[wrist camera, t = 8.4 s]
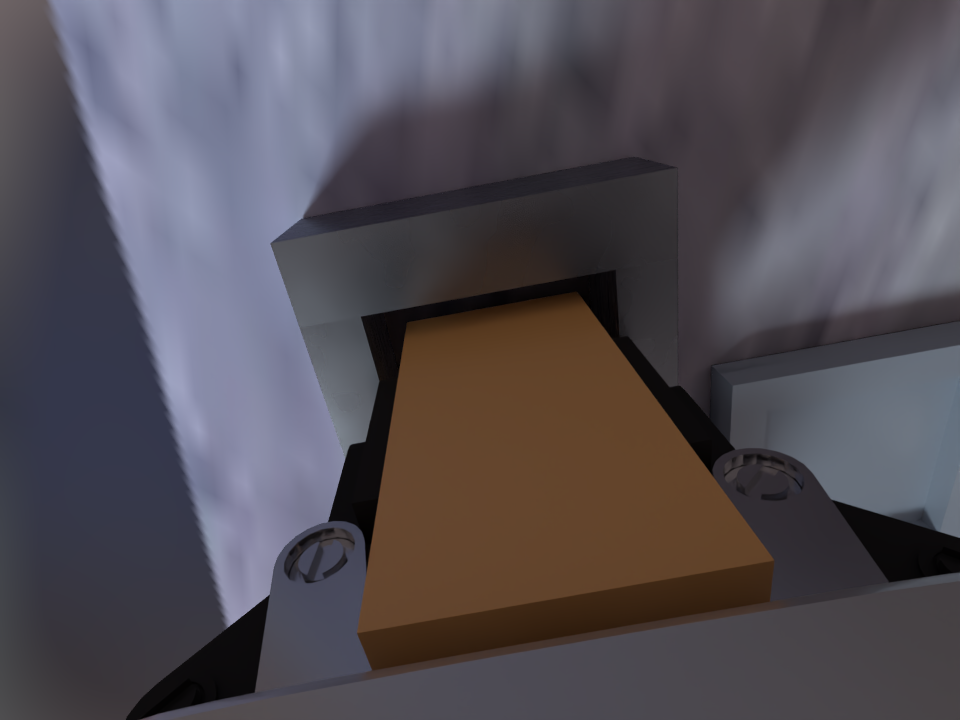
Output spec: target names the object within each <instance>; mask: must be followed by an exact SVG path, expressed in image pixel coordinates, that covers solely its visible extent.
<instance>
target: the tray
mask: <svg viewBox="0 0 960 720" xmlns="http://www.w3.org/2000/svg"><path fill="white" fill-rule="evenodd" d="M710 420H711V421H712V422H713V424H714V425H715V426H716V427H717V428H718V429H719V431H720V432H721V433H722V434H723V435H724V436H725V438H726V439H727V440H728V441H729V442H730V443H731V445H732V446H733V447H734V448H735V449H736V450H738V449H744V448H763V449H768V450H773V451H778V452H781V453H783V454H786V455H789V456H791V457H793V458H795V459H796V460H798V461H800V462H801V463H803V464H804V465H805V466H806V467H807V468H808V469H809V470H810V471H811V472H812V473H813V474H814V476H815V477H816V479H817V480H818V481H819V483H820V484H821V486H822V487H823V489H824V490H825V491H826V493H827V494H828V496H829V497H830V499H832V500H835V501H838V502H842V503H845V504H848V505H852V506H855V507H858V508H862V509H865V510H868V511H872V512H875V513H878V514H882V515H885V516H888V517H892V518H895V519H898V520H902V521H905V522H908V523H912V524H915V525H918V526H922V527H925V528H928V529H932V530H935V531H938V532H942V533H945V534H948V535H952V536H955V537H958V538H960V321H957V322H951V323H946V324H940V325H935V326H929V327H924V328H918V329H912V330H907V331H901V332H896V333H890V334H885V335H879V336H874V337H868V338H863V339H857V340H852V341H846V342H841V343H835V344H829V345H824V346H818V347H813V348H807V349H802V350H796V351H791V352H785V353H780V354H774V355H769V356H763V357H758V358H752V359H746V360H741V361H735V362H730V363H724V364H719V365H713V366H712V373H711V406H710Z"/></svg>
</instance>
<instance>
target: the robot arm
mask: <svg viewBox="0 0 960 720" xmlns="http://www.w3.org/2000/svg"><path fill="white" fill-rule="evenodd" d="M612 340H613V341H614V342H615V344H616V345H617V347H618V348H619V349H620V351H621V352H622V353H623V355H624V356H625V357H626V359H627V360H628V362H629V363H630V364H631V366H632V367H633V368H634V370H635V371H636V372H637V374H638V375H639V377H640V378H641V379H642V381H643V382H644V383H645V385H646V386H647V387H648V389H649V390H650V391H651V393H652V394H653V396H654V397H655V398H656V400H657V401H658V402H659V404H660V405H661V406H662V408H663V409H664V411H665V412H666V413H667V415H668V416H669V417H670V419H671V420H672V421H673V423H674V424H675V426H676V427H677V428H678V430H679V431H680V432H681V434H682V435H683V436H684V438H685V439H686V441H687V442H688V443H689V445H690V446H691V447H692V449H693V450H694V451H695V453H696V454H697V455H698V457H699V458H700V460H701V461H702V462H703V464H704V465H705V466H706V468H707V469H708V470H709V472H710V473H711V475H712V476H713V477H714V479H715V480H716V481H717V483H718V484H719V485H720V487H721V488H722V490H723V491H724V492H725V494H726V495H727V496H728V498H729V499H730V500H731V502H732V503H733V504H734V506H735V507H736V509H737V510H738V511H739V513H740V514H741V515H742V517H743V518H744V519H745V521H746V522H747V524H748V525H749V526H750V528H751V529H752V530H753V532H754V533H755V534H756V536H757V537H758V539H759V540H760V541H761V543H762V544H763V545H764V547H765V548H766V549H767V551H768V552H769V554H770V555H771V556H772V558H773V559H774V560H775V561H774V570H773V579H772V588H771V597H770V602H765V603H759V604H753V605H747V606H741V607H735V608H729V609H723V610H717V611H711V612H705V613H700V614H694V615H688V616H682V617H676V618H670V619H664V620H658V621H652V622H647V623H641V624H635V625H629V626H623V627H617V628H612V629H606V630H600V631H594V632H588V633H583V634H577V635H571V636H565V637H560V638H554V639H548V640H542V641H537V642H531V643H525V644H519V645H514V646H508V647H502V648H496V649H491V650H485V651H479V652H473V653H468V654H462V655H457V656H451V657H446V658H440V659H434V660H429V661H423V662H418V663H412V664H406V665H401V666H395V667H390V668H384V669H379V670H373V671H372V669H371V666H370V664H369V662H368V659H367V657H366V654H365V652H364V649H363V647H362V645H361V642H360V640H359V637H358V635H357V629H358V623H359V617H360V611H361V604H362V598H363V592H364V586H365V580H366V574H367V567H368V561H369V555H370V549H371V543H372V536H373V530H374V524H375V518H376V512H377V505H378V499H379V493H380V487H381V481H382V475H383V468H384V462H385V456H386V450H387V444H388V437H389V431H390V425H391V419H392V413H393V406H394V400H395V394H396V388H397V382H398V378H392V379H387V380H381V381H379V385H378V389H377V393H376V398H375V402H374V406H373V411H372V415H371V420H370V424H369V428H368V433H367V437H366V441H365V442H361V443H355V444H352V445H350V446H349V449H348V452H347V455H346V459H345V463H344V466H343V470H342V473H341V477H340V481H339V484H338V488H337V492H336V495H335V499H334V503H333V506H332V510H331V514H330V517H329V521H328V522H327V523H321V524H319V525H316V526H314V527H311V528H309V529H307V530H305V531H304V532H302V533H301V534H299V535H297V536H296V537H295V538H294V539H292V540H291V541H290V542H289V543H288V544H287V545H286V546H285V547H284V549H283V550H282V551H281V553H280V554H279V556H278V557H277V560H276V563H275V566H274V571H273V577H272V584H271V590H270V595H269V596H268V597H266V598H265V599H264V600H262V601H261V602H260V603H259V604H257V605H256V606H255V607H254V608H252V609H251V610H250V611H249V612H247V613H246V614H245V615H244V616H242V617H241V618H240V619H238V620H237V621H236V622H235V623H233V624H232V625H231V626H230V627H228V628H227V629H226V630H225V631H224V632H222V633H221V634H219V635H218V636H217V637H216V638H214V639H213V640H212V641H211V642H209V643H208V644H207V645H206V646H204V647H203V648H202V649H201V650H199V651H198V652H197V653H195V654H194V655H193V656H192V657H190V658H189V659H188V660H187V661H185V662H184V663H183V664H182V665H180V666H179V667H178V668H177V669H175V670H174V671H173V672H172V673H170V674H169V675H168V676H166V677H165V678H164V679H163V680H161V681H160V682H159V683H158V684H157V685H155V686H154V687H153V688H152V689H151V690H150V691H149V692H148V693H147V694H146V695H144V696H143V697H142V698H141V699H140V701H139V702H138V703H137V704H136V706H135V707H134V708H133V710H132V711H131V712H130V714H129V715H128V716H127V718H126V720H960V538H958V537H955V536H952V535H948V534H945V533H942V532H938V531H935V530H932V529H928V528H925V527H922V526H918V525H915V524H912V523H908V522H905V521H902V520H898V519H895V518H892V517H888V516H885V515H882V514H878V513H875V512H872V511H868V510H865V509H862V508H858V507H855V506H852V505H848V504H845V503H842V502H838V501H835V500H832V499H830V497H829V496H828V494H827V493H826V491H825V490H824V489H823V487H822V486H821V484H820V483H819V481H818V480H817V479H816V477H815V476H814V474H813V473H812V472H811V471H810V470H809V469H808V468H807V467H806V466H805V465H804V464H803V463H801V462H800V461H798V460H796V459H795V458H793V457H791V456H789V455H786V454H783V453H781V452H778V451H773V450H768V449H763V448H744V449H738V450H736V449H735V448H734V447H733V446H732V445H731V443H730V442H729V441H728V440H727V439H726V438H725V436H724V435H723V434H722V433H721V432H720V431H719V429H718V428H717V427H716V426H715V425H714V424H713V422H712V421H711V420H710V419H709V418H708V417H707V415H706V414H705V413H704V412H703V411H702V410H701V408H700V407H699V406H698V405H697V404H696V403H695V402H694V400H693V399H692V398H691V397H690V396H689V395H688V393H687V392H686V391H685V390H684V389H683V388H682V387H681V386H673V387H669V386H668V384H667V383H666V382H665V381H664V380H663V378H662V377H661V376H660V375H659V373H658V372H657V371H656V370H655V368H654V367H653V366H652V365H651V364H650V362H649V361H648V360H647V359H646V357H645V356H644V355H643V354H642V352H641V351H640V350H639V349H638V348H637V346H636V345H635V344H634V343H633V341H632V340H631V339H630V338H629V337H628V336H624V337H618V338H613V339H612Z"/></svg>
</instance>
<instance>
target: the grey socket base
mask: <svg viewBox="0 0 960 720" xmlns="http://www.w3.org/2000/svg"><path fill="white" fill-rule="evenodd" d="M270 244H271V247H272V249H273V252H274V255H275V258H276V261H277V264H278V267H279V270H280V272H281V275H282V278H283V281H284V284H285V287H286V290H287V293H288V295H289V298H290V301H291V304H292V307H293V310H294V313H295V315H296V318H297V321H298V324H299V327H300V330H301V333H302V336H303V338H304V341H305V344H306V347H307V350H308V353H309V356H310V359H311V361H312V364H313V367H314V370H315V373H316V376H317V379H318V381H319V384H320V387H321V390H322V393H323V396H324V399H325V402H326V404H327V407H328V410H329V413H330V416H331V419H332V422H333V424H334V427H335V430H336V433H337V436H338V439H339V442H340V445H341V447H342V450H343V453H344V456H345V459H346V455H347V452H348V449H349V446H350V445H352V444H355V443H361V442H365V441H366V437H367V433H368V428H369V424H370V420H371V415H372V411H373V406H374V402H375V398H376V393H377V389H378V385H379V381H381V380H387V379H392V378H398V376H399V371H398V367H397V363H396V360H395V356H394V352H393V348H392V345H391V341H390V337H389V333H388V330H387V326H386V322H385V319H384V315H383V312H389V311H394V310H400V309H405V308H410V307H416V306H421V305H427V304H432V303H438V302H443V301H449V300H454V299H459V298H465V297H470V296H476V295H481V294H487V293H492V292H498V291H503V290H508V289H514V288H519V287H525V286H530V285H536V284H541V283H547V282H552V281H557V280H563V279H568V278H574V277H579V276H585V275H589V287H590V300H591V311H592V313H593V314H594V315H595V317H596V318H597V319H598V321H599V322H600V323H601V325H602V326H603V327H604V329H605V330H606V332H607V333H608V334H609V336H610V337H611V338H612V339H613V338H618V337H624V336H628V337H629V338H630V339H631V340H632V341H633V343H634V344H635V345H636V346H637V348H638V349H639V350H640V351H641V352H642V354H643V355H644V356H645V357H646V359H647V360H648V361H649V362H650V364H651V365H652V366H653V367H654V368H655V370H656V371H657V372H658V373H659V375H660V376H661V377H662V378H663V380H664V381H665V382H666V383H667V384H668V386H669V387H673V386H678V168H677V167H673V166H669V165H665V164H661V163H657V162H653V161H649V160H645V159H641V158H637V157H631V158H625V159H620V160H615V161H609V162H604V163H598V164H593V165H588V166H582V167H577V168H572V169H566V170H561V171H556V172H550V173H545V174H539V175H534V176H529V177H523V178H518V179H513V180H507V181H502V182H496V183H491V184H486V185H480V186H475V187H470V188H464V189H459V190H454V191H448V192H443V193H437V194H432V195H427V196H421V197H416V198H411V199H405V200H400V201H395V202H389V203H384V204H378V205H373V206H368V207H362V208H357V209H352V210H346V211H341V212H336V213H330V214H325V215H319V216H314V217H309V218H303V219H301V220H299V221H298V222H297V223H295V224H294V225H293V226H292V227H290V228H289V229H288V230H287V231H285V232H284V233H283V234H282V235H280V236H279V237H278V238H277V239H275V240H274V241H273V242H272V243H270Z"/></svg>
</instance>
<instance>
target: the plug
mask: <svg viewBox="0 0 960 720" xmlns="http://www.w3.org/2000/svg"><path fill="white" fill-rule="evenodd" d="M774 561H775V560H774V559H773V558H772V556H771V555H770V554H769V552H768V551H767V549H766V548H765V547H764V545H763V544H762V543H761V541H760V540H759V539H758V537H757V536H756V534H755V533H754V532H753V530H752V529H751V528H750V526H749V525H748V524H747V522H746V521H745V519H744V518H743V517H742V515H741V514H740V513H739V511H738V510H737V509H736V507H735V506H734V504H733V503H732V502H731V500H730V499H729V498H728V496H727V495H726V494H725V492H724V491H723V490H722V488H721V487H720V485H719V484H718V483H717V481H716V480H715V479H714V477H713V476H712V475H711V473H710V472H709V470H708V469H707V468H706V466H705V465H704V464H703V462H702V461H701V460H700V458H699V457H698V455H697V454H696V453H695V451H694V450H693V449H692V447H691V446H690V445H689V443H688V442H687V441H686V439H685V438H684V436H683V435H682V434H681V432H680V431H679V430H678V428H677V427H676V426H675V424H674V423H673V421H672V420H671V419H670V417H669V416H668V415H667V413H666V412H665V411H664V409H663V408H662V406H661V405H660V404H659V402H658V401H657V400H656V398H655V397H654V396H653V394H652V393H651V391H650V390H649V389H648V387H647V386H646V385H645V383H644V382H643V381H642V379H641V378H640V377H639V375H638V374H637V372H636V371H635V370H634V368H633V367H632V366H631V364H630V363H629V362H628V360H627V359H626V357H625V356H624V355H623V353H622V352H621V351H620V349H619V348H618V347H617V345H616V344H615V342H614V341H613V340H612V338H611V337H610V336H609V334H608V333H607V332H606V330H605V329H604V327H603V326H602V325H601V323H600V322H599V321H598V319H597V318H596V317H595V315H594V314H593V313H592V311H591V310H590V308H589V307H588V306H587V304H586V303H585V302H584V300H583V299H582V298H581V296H580V295H579V293H578V292H577V291H576V292H571V293H565V294H560V295H554V296H549V297H543V298H538V299H532V300H527V301H521V302H516V303H510V304H505V305H500V306H494V307H489V308H483V309H478V310H472V311H467V312H461V313H456V314H450V315H445V316H439V317H434V318H428V319H423V320H417V321H412V322H407V326H406V332H405V338H404V345H403V351H402V357H401V363H400V369H399V376H398V382H397V388H396V394H395V400H394V406H393V413H392V419H391V425H390V431H389V437H388V444H387V450H386V456H385V462H384V468H383V475H382V481H381V487H380V493H379V499H378V505H377V512H376V518H375V524H374V530H373V536H372V543H371V549H370V555H369V561H368V567H367V574H366V580H365V586H364V592H363V598H362V604H361V611H360V617H359V623H358V629H357V635H358V637H359V640H360V642H361V645H362V647H363V649H364V652H365V654H366V657H367V659H368V662H369V664H370V666H371V669H372V671H373V670H379V669H384V668H390V667H395V666H401V665H406V664H412V663H418V662H423V661H429V660H434V659H440V658H446V657H451V656H457V655H462V654H468V653H473V652H479V651H485V650H491V649H496V648H502V647H508V646H514V645H519V644H525V643H531V642H537V641H542V640H548V639H554V638H560V637H565V636H571V635H577V634H583V633H588V632H594V631H600V630H606V629H612V628H617V627H623V626H629V625H635V624H641V623H647V622H652V621H658V620H664V619H670V618H676V617H682V616H688V615H694V614H700V613H705V612H711V611H717V610H723V609H729V608H735V607H741V606H747V605H753V604H759V603H765V602H770V597H771V588H772V579H773V570H774Z"/></svg>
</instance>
